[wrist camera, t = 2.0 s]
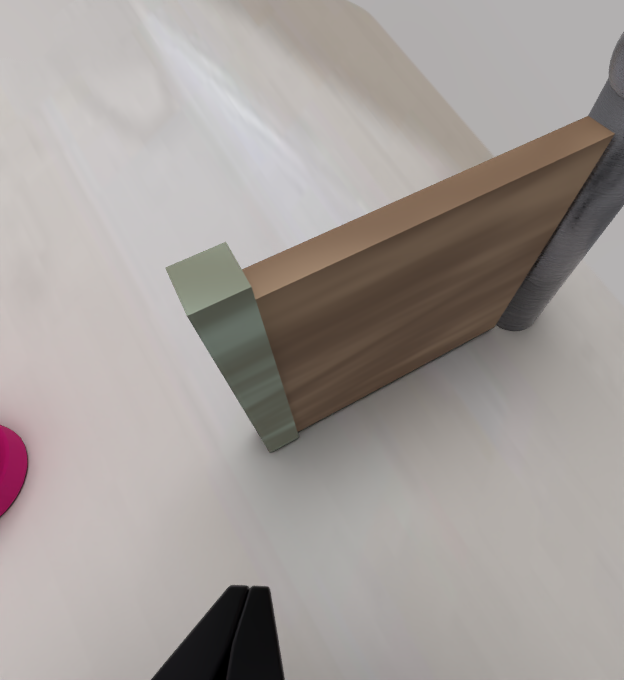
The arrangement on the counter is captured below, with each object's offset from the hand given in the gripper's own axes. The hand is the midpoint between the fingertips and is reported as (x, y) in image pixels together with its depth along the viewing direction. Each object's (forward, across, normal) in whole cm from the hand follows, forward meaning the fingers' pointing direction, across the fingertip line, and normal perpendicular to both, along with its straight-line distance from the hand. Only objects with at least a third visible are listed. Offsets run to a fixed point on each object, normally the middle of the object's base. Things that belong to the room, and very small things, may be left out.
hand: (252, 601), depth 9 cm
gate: (+17, -4, +1) cm, 17 cm away
